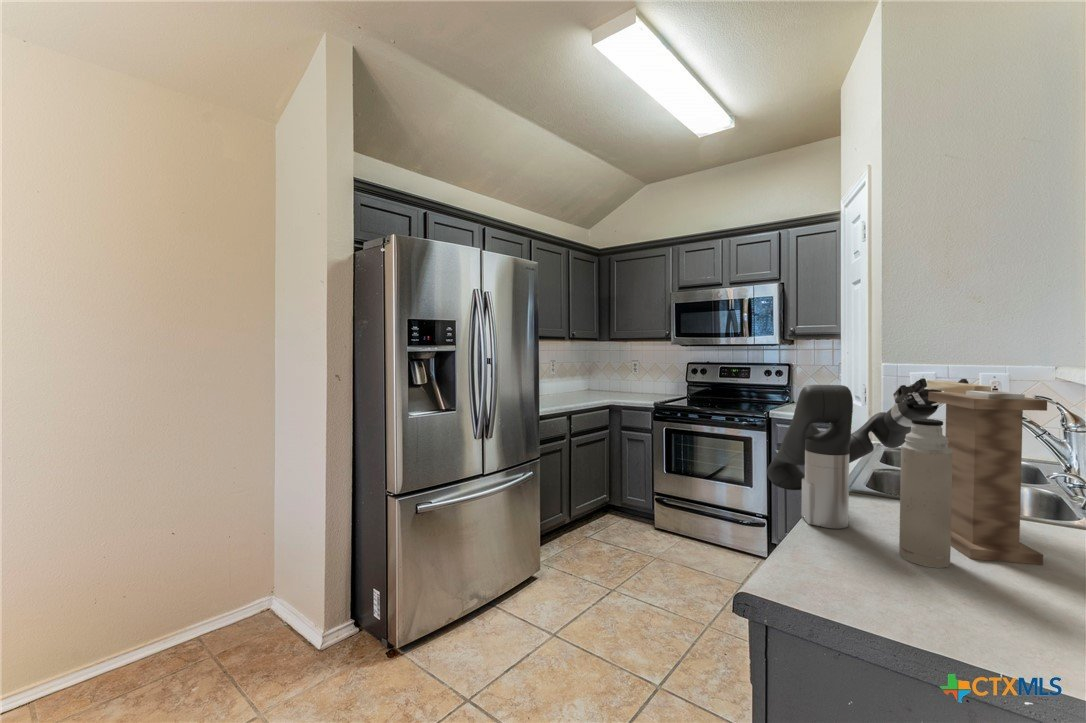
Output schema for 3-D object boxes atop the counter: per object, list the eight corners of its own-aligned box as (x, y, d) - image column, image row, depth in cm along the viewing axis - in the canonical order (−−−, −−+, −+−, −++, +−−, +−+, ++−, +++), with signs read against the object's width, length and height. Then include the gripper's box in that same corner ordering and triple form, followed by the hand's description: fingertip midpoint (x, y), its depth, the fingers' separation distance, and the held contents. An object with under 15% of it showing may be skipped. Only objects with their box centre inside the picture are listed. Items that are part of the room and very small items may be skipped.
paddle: (988, 398, 95) (988, 388, 95) (919, 388, 119) (919, 380, 119) (1024, 399, 94) (1024, 389, 94) (947, 388, 118) (947, 380, 118)
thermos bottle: (890, 549, 100) (892, 416, 99) (931, 551, 99) (934, 416, 98) (916, 567, 92) (918, 422, 91) (960, 568, 91) (964, 422, 90)
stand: (970, 558, 96) (973, 399, 95) (925, 529, 111) (928, 391, 110) (1042, 564, 93) (1047, 400, 92) (986, 533, 108) (990, 392, 108)
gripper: (948, 422, 125) (985, 396, 111) (886, 420, 128) (914, 395, 114) (940, 396, 128) (975, 368, 114) (879, 395, 131) (907, 367, 117)
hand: (945, 382), depth 114 cm, fingers open, 8 cm apart
